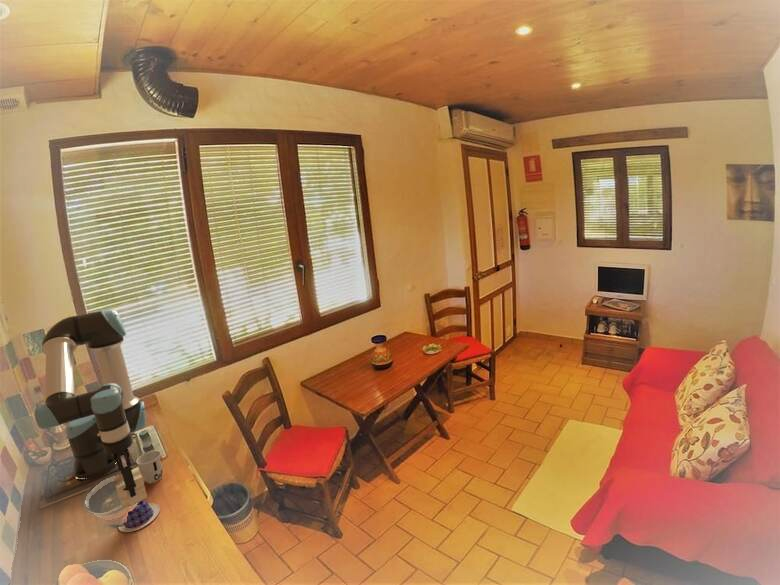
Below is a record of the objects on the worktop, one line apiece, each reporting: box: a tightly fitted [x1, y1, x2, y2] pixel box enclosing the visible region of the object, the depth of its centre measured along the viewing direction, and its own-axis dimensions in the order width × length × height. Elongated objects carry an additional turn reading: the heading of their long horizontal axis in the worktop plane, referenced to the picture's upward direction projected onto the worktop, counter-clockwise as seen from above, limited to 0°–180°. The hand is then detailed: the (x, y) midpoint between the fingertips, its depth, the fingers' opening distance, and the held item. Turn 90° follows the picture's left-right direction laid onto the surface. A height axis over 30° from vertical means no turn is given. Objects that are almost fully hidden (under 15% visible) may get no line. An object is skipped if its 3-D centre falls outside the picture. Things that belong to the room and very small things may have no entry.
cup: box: [136, 449, 164, 484], centre depth 146 cm, size 8×8×10 cm
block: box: [113, 466, 148, 510], centre depth 125 cm, size 7×7×8 cm
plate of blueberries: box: [117, 499, 160, 533], centre depth 128 cm, size 12×12×5 cm
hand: (133, 496), depth 126 cm, fingers closed on block, 7 cm apart
